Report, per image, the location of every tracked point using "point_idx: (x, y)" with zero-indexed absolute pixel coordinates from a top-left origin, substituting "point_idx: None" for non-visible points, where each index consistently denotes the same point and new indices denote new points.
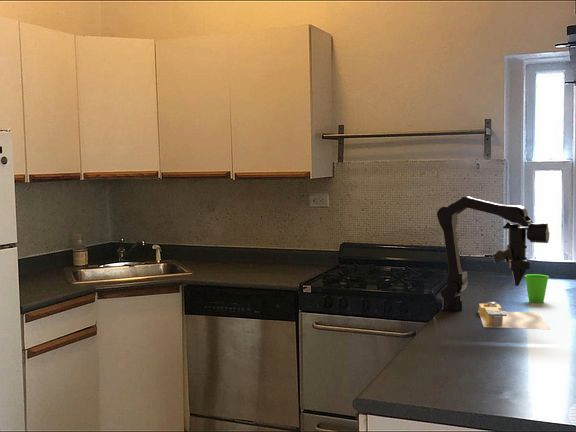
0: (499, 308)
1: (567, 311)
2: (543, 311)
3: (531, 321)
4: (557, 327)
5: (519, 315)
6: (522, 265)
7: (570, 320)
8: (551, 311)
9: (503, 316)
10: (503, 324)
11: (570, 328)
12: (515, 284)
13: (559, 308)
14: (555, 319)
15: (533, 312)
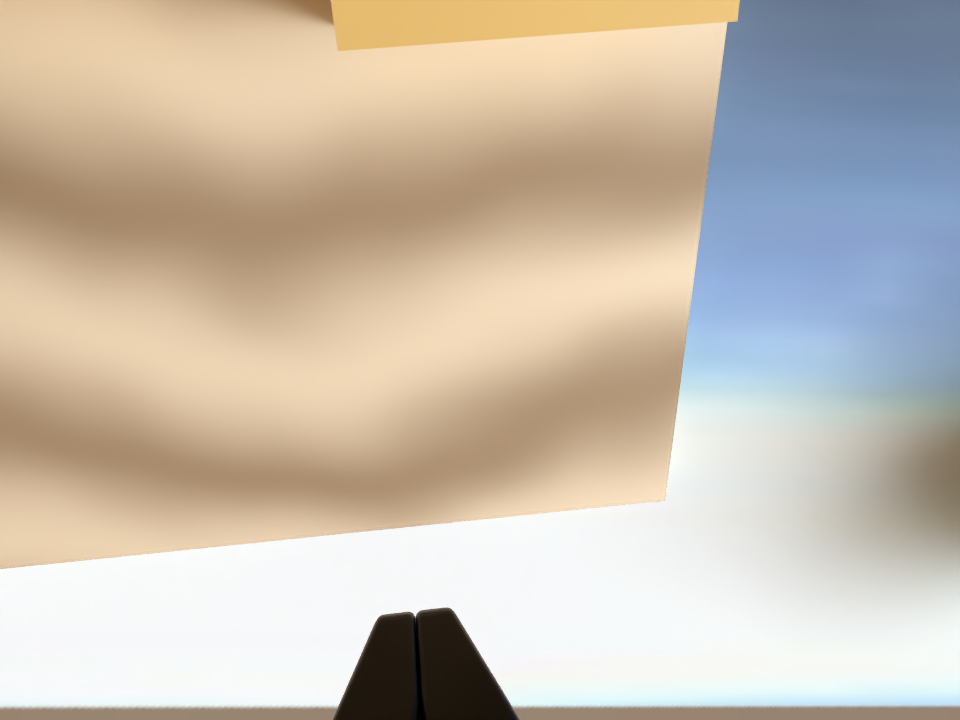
0: (331, 4)
1: (825, 684)
2: (844, 527)
3: (124, 426)
4: (95, 619)
5: (468, 302)
6: None
7: None
8: (837, 585)
9: (342, 63)
10: None
11: (102, 701)
12: (367, 650)
13: (955, 638)
14: (475, 608)
15: (668, 459)
